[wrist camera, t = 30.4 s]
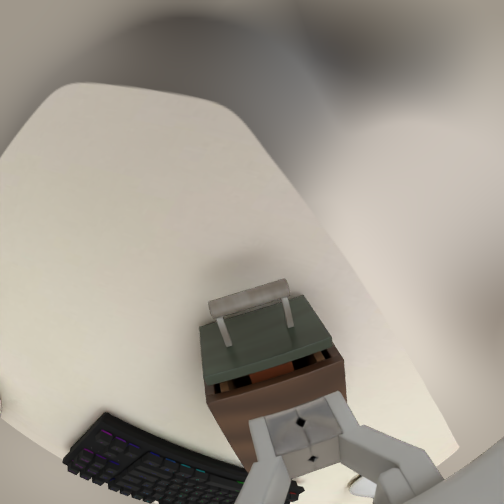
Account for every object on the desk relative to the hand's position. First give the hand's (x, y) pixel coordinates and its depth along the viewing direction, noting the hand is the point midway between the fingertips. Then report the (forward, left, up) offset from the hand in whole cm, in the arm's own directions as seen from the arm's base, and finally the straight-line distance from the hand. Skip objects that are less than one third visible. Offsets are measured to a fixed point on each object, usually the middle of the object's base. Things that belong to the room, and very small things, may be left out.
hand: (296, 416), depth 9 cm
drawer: (+12, +7, -22) cm, 26 cm away
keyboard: (+45, +5, -23) cm, 51 cm away
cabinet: (+17, +10, -23) cm, 30 cm away
